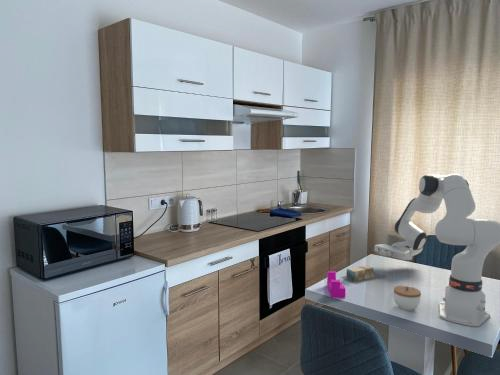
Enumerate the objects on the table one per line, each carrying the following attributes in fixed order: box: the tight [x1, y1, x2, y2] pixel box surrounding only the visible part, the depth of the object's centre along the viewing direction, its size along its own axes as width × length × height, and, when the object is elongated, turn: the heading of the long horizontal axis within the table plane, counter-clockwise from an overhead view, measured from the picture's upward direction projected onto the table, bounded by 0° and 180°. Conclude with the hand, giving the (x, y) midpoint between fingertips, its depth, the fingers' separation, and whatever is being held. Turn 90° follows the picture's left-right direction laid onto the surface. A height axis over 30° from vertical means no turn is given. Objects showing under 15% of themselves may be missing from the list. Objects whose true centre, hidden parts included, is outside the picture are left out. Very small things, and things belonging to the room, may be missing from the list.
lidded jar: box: [393, 285, 422, 312], centre depth 161 cm, size 11×11×9 cm
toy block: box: [326, 270, 346, 299], centre depth 179 cm, size 15×6×8 cm, turn 176°
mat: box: [340, 271, 387, 285], centre depth 198 cm, size 22×11×1 cm, turn 120°
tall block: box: [345, 264, 374, 281], centre depth 197 cm, size 5×5×14 cm
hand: (381, 253), depth 204 cm, fingers closed
